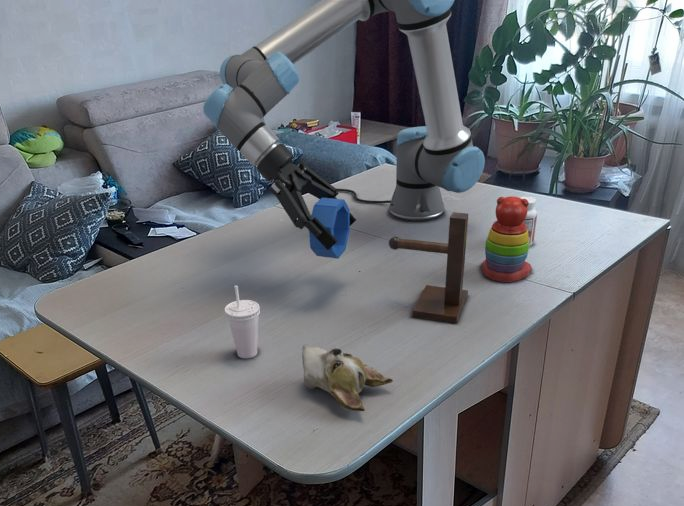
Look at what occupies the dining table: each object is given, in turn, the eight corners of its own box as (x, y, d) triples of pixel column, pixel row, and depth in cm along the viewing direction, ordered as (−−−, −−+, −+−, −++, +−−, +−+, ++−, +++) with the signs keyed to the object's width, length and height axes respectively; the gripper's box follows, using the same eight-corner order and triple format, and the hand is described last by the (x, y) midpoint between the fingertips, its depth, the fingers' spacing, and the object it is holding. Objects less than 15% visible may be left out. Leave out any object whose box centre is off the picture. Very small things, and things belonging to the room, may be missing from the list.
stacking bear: (532, 267, 148) (543, 192, 139) (524, 286, 141) (534, 207, 131) (485, 261, 152) (493, 187, 143) (475, 278, 145) (481, 201, 135)
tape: (311, 262, 133) (307, 210, 127) (329, 241, 142) (327, 192, 136) (332, 265, 132) (330, 212, 126) (350, 244, 140) (349, 193, 134)
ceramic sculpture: (320, 322, 112) (397, 350, 105) (320, 363, 117) (393, 392, 110) (284, 351, 105) (363, 383, 98) (285, 393, 109) (361, 426, 103)
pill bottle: (518, 236, 164) (523, 193, 158) (538, 242, 160) (544, 199, 154) (502, 242, 161) (507, 199, 155) (522, 249, 157) (528, 205, 151)
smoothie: (231, 345, 124) (222, 279, 116) (264, 343, 124) (257, 276, 117) (229, 363, 118) (219, 295, 111) (264, 361, 119) (257, 292, 111)
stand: (380, 312, 133) (380, 219, 122) (395, 287, 142) (397, 199, 132) (456, 323, 128) (463, 227, 117) (467, 296, 137) (475, 205, 127)
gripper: (281, 151, 142) (349, 224, 145) (230, 185, 123) (310, 268, 126) (301, 127, 137) (372, 204, 141) (252, 158, 119) (334, 246, 122)
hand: (342, 234), depth 134 cm, fingers closed on tape, 11 cm apart
